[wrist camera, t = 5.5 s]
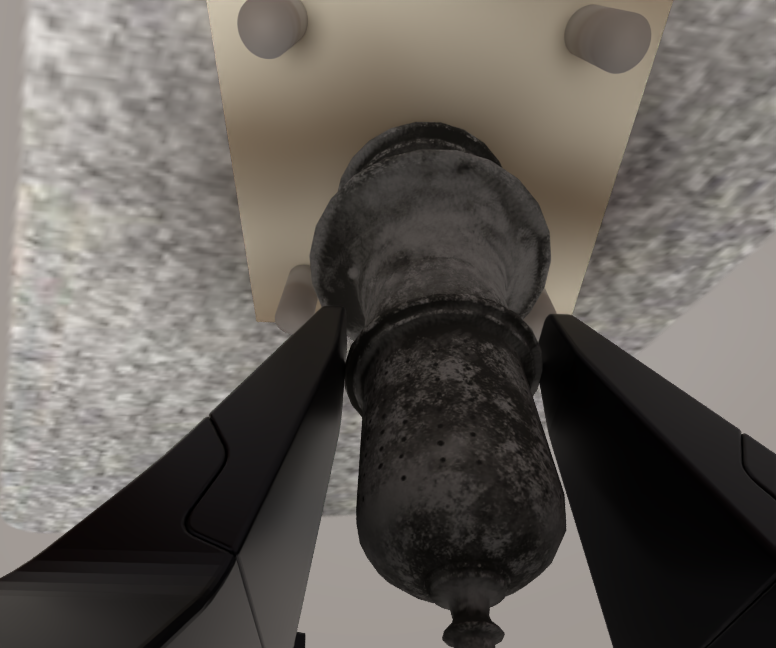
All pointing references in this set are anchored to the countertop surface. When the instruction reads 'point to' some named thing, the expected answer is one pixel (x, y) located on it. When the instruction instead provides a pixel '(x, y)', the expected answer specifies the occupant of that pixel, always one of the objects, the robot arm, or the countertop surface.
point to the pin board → (426, 113)
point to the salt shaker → (444, 369)
